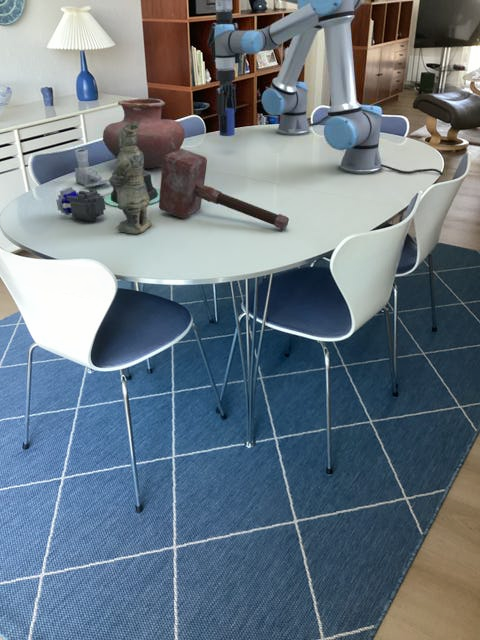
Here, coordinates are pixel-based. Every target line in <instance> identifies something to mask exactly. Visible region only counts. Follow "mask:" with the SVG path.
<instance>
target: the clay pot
mask: <svg viewBox="0 0 480 640" xmlns="http://www.w3.org/2000/svg"><path fill="white" fill-rule="evenodd" d="M165 104H166V102H165V101H163V100H162V99H159V98H132V99H130V98H129V99H122V100H118V102H117V105H118V106H121V108H122V110H123V115H124V117H123V119H122V120H121V121H117V122H112V123H109V124H107V125H106V126H105V128H104V129H103V131H102V141H103V143H104V145H105V147H106V149H107V150H108V151H109V152H110V153H111V154H112V156H114V157H115V158H116V159H117V156H118V154H119V151H120V147H119V140H118V138H119V133H120V130H121V129H123V128H124V127H125V126H126V125H127V124H128V123H131V122H133V121H137V122H138V123H139V127H138V130H137V131H136V138H137V143H136V146H137V147H138V149H139V150H141V151H142V153H143V156H144V166H143V169H155V168H158V167H161V166H163V158H164V156H165V155H167V154H170V153H172V152H174V151H177V150H179V149H182V146H183V143H184V141H185V137H186V134H185V129H184V127H183V126H182V124H181V123H180V122H178V120H174V119H168V118H167V119H165V118H163V119H162V110H163V107H164V106H165Z"/></svg>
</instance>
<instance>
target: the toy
mask: <svg viewBox="0 0 480 640" xmlns="http://www.w3.org/2000/svg"><path fill="white" fill-rule="evenodd" d="M59 193H60V194H58V195H57V197H58V199H56V207H57V211H60V212H61V214H63V215H64V216H69V215H71V216H72V217H75V218H77V219H78V220H80V221H81V220H82V221H87V222H94V221H96V220H97V219H98V218H99V217H101V216H103V215H104V214H105V212H104V211H106V208H107V207H106V202H105V201H104V198H105V197H104V195H102V194H101V193H99V192H98V189H95V188H94V189H93V188H90V189H88V191H84V190H79V191H76V189H74V188H73V187H72V186H68V187H66V188H64V189H61V190H59Z"/></svg>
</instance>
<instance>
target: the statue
mask: <svg viewBox="0 0 480 640" xmlns="http://www.w3.org/2000/svg"><path fill="white" fill-rule="evenodd" d="M138 127H139V123H138V122H137V121H133V122H131V123H128V124H127V125H126V126H125V127H124V128H123V129H121V130H120V133H119V138H118V140H119V147H120V151H119V154H118V156H117V158H116V160H115V164H114V169H113V172H114V175H113V176H112V175H111V176H110V177H109V182H108V183H109V184H110V186H111V187H112V188H113V187H114V188H115V189H116V192H117V202H118V206H117V209H119V210H122V213H123V214H124V215H125V218H126V219H125V220H122V221H120V222H119V224H118V225H117V231H118V232H121V233H126V234H134V235H136V234H142V233H143V232H145V231H146V230H147V229H148V228H150V227H151V226H152V225H153V223H152V220H150V219H148V216H147V214H148V213H147V212H148V211H147V209H148V206H149V205H150V197H149V195H148V192H147V188H146V184H145V182H144V178H143V169H144V168H143V166H144V156H143V153H142V151H141V150H139V149H138V147H137V146H136V143H137V138H136V131H137V130H138Z"/></svg>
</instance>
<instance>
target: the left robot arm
mask: <svg viewBox="0 0 480 640" xmlns="http://www.w3.org/2000/svg"><path fill="white" fill-rule="evenodd" d="M280 1H282V2H286V3H290V4H294V5H297V6H296V7H297V10H298V9H300V8H302V7H304V6H306V5H307V4H309V3H310V0H280ZM215 10H216V11H215V21H216V22H212V23H211V25H210V31H209V33H208V36H207V37H208V38H207V41H206V45H207V46H209V48H210V54H211V62H212V63H216V62H215V60H216V57H215V55H216V54H215V39H214V37H215V26H216V25H220V24H232V25H234V29H235V31H240V29H239V23H238V22H233V19H234V18H233V17H234V16H233V0H215ZM323 29H324V28H323V27H322V26H320V25H319V24H318V25H316V26H314V27H312V28H310V29H308V30H307V31H305V32H303V33H301V34H299V35H297V36H295V37H293V38H291V41H290V44H289V47H288V50H287V52H286V54H285V57H284V59H283V62H282V64H281V67H280V70H279V72H278V74H277V76H276V77H274V78H273V79H272V81H271V84H270V85H269V88H267V89H265V90H264V91H263V93H262V95H261V104H262V108H263V109H264V111H265V112H266V113H267V114H269V115H270V116H279V115H281V118H280V121H279V124H278V127H277V133H278V134H279V135H285V136H302V135H303V136H304V135H308V134H309V133H310V127H312V126H316V125H319V124H322V123H323V121H324V120H326V119H328V115H326V116H324V117H323V118H321V119H320V120H319V121H316V122H313V123H309V121H308V118H307V105H308V103H307V102H308V84H307V82H305V81H298V79H299V77H300V74H301V72H302V70H303V67H304V65H305V62H306V60H307V58H308V55H309V53H310V51H311V48H312V46H313V43H314V40H315V38H316V36H317V34H318V32H319V31H321V30H323ZM241 54H242V53H235V64H240V62H241V61H240V56H241Z"/></svg>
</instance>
